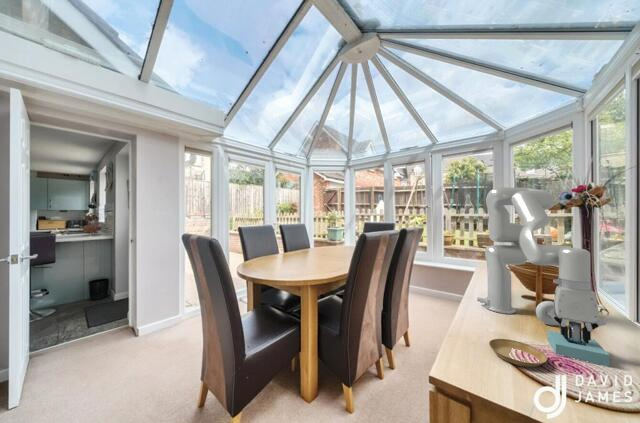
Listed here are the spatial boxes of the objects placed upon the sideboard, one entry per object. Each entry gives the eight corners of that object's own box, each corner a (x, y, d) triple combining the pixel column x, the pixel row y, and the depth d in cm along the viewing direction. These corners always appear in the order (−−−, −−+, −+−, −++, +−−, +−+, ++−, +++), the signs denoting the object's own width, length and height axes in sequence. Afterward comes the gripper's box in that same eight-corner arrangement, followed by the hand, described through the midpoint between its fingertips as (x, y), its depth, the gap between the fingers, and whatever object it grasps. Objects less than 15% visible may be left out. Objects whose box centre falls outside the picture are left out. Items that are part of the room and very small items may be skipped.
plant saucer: (553, 378, 70) (553, 368, 70) (490, 361, 77) (490, 353, 77) (541, 354, 82) (541, 346, 82) (487, 342, 90) (487, 334, 90)
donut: (563, 325, 104) (562, 301, 104) (568, 328, 101) (567, 304, 101) (534, 321, 107) (533, 298, 108) (538, 325, 104) (537, 301, 104)
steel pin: (570, 352, 83) (570, 322, 83) (567, 348, 85) (567, 319, 85) (583, 355, 81) (582, 324, 81) (580, 351, 84) (579, 321, 84)
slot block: (555, 354, 81) (555, 343, 81) (547, 339, 91) (547, 330, 91) (609, 367, 75) (609, 355, 75) (594, 349, 85) (594, 339, 85)
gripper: (543, 283, 85) (544, 337, 85) (616, 291, 76) (617, 352, 75) (539, 279, 91) (540, 329, 91) (606, 286, 82) (607, 342, 82)
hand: (575, 339), depth 83 cm, fingers open, 4 cm apart
